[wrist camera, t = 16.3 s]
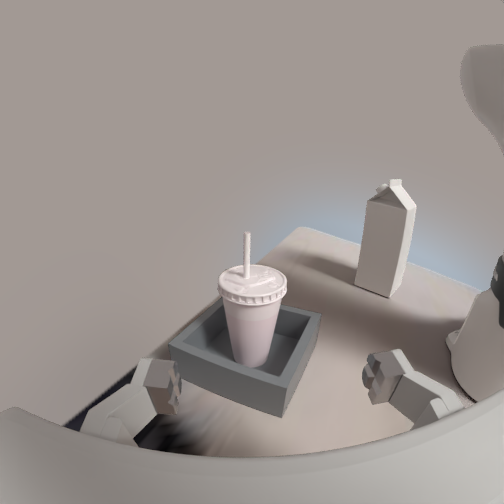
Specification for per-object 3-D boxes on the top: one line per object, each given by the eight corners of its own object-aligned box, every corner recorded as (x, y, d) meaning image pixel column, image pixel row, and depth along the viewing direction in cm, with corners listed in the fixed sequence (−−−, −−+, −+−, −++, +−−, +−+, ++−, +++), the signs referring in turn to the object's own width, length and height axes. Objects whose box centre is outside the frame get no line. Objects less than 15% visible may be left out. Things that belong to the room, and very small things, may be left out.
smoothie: (219, 340, 31) (214, 223, 26) (272, 335, 32) (279, 221, 27) (224, 379, 25) (218, 247, 20) (286, 372, 26) (302, 243, 21)
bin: (229, 319, 36) (228, 290, 35) (315, 343, 32) (321, 313, 30) (174, 374, 26) (167, 343, 25) (281, 417, 22) (286, 388, 20)
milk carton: (401, 284, 46) (419, 183, 39) (389, 299, 41) (411, 184, 34) (368, 273, 50) (383, 175, 43) (353, 285, 46) (369, 175, 39)
